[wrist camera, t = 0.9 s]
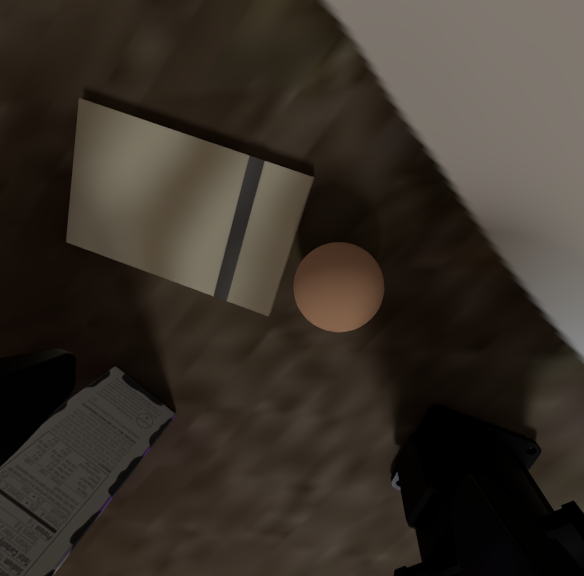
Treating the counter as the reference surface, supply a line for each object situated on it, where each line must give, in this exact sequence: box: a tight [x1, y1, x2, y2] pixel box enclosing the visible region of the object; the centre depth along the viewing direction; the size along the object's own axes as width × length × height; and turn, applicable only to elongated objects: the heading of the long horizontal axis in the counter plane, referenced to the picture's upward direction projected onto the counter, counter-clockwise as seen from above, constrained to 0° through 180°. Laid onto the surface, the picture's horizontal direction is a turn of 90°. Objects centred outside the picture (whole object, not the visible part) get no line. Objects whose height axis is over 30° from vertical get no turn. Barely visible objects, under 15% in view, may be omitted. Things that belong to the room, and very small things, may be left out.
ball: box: [294, 242, 384, 332], centre depth 16 cm, size 4×4×4 cm
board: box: [66, 98, 314, 316], centre depth 18 cm, size 13×8×1 cm, turn 72°
